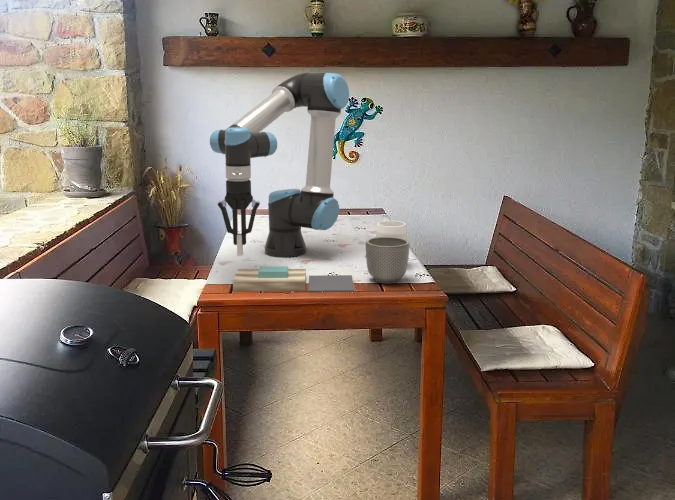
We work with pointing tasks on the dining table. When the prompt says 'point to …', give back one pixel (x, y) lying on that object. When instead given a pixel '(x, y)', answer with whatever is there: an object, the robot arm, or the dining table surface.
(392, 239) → the planter
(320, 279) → the mat
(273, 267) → the teal foam pad
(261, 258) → the dining table surface
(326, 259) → the dining table surface
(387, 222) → the white vase
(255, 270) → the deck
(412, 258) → the dining table surface
